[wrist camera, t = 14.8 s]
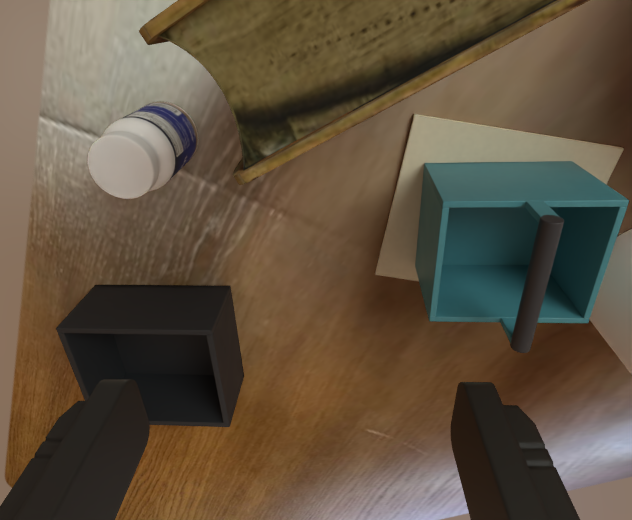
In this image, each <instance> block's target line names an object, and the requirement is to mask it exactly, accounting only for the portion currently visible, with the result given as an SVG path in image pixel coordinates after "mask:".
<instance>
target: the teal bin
mask: <svg viewBox="0 0 632 520" xmlns="http://www.w3.org/2000/svg"><path fill="white" fill-rule="evenodd" d="M628 203H629V200H628V199H626V198H625V197H624V196H622V195H621V194H619V193H618V192H616V191H615V190H613V189H612V188H610V187H609V186H608V185H606V184H605V183H603V182H602V181H600V180H599V179H597V178H596V177H595V176H593V175H592V174H590V173H589V172H587V171H586V170H584V169H583V168H581V167H580V166H579V165H577V164H576V163H574V162H573V161H541V162H463V163H424V172H423V183H422V194H421V205H420V216H419V228H418V239H417V250H416V261H415V268H416V272H417V276H418V279H419V283H420V287H421V291H422V295H423V299H424V303H425V307H426V310H427V314H428V318H429V321H440V322H501V325H502V327H503V329H504V331H505V333H506V335H507V337H508V339H509V341H510V346H511V348H512V349H513V350H515V351H517V352H520V353H527V352H529V351H530V348H531V345H532V341H533V337H534V333H535V330H536V326H537V323H588V322H589V318H590V316H591V313H592V310H593V307H594V304H595V301H596V298H597V295H598V292H599V289H600V286H601V283H602V280H603V277H604V274H605V271H606V268H607V265H608V262H609V259H610V256H611V253H612V250H613V247H614V244H615V241H616V238H617V235H618V233H619V230H620V227H621V224H622V221H623V218H624V215H625V212H626V209H627V206H628Z"/></svg>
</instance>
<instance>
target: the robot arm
mask: <svg viewBox="0 0 632 520" xmlns="http://www.w3.org/2000/svg"><path fill="white" fill-rule="evenodd" d="M148 437H149V419H148V416H147V413H146V410H145V407H144V404H143V401H142V397H141V394H140V391H139V388H138V385H137V383H136V381H135V380H133V379H103V380H101V381H100V382H99V383H98V384H97V385H96V387H95V388H94V390H93V392H92V393H91V395H90V396H89V398H88V400H87V401H78V402H77V403H75V404H74V405H73V406H72V407H71V408H70V409H69V410H67V411H66V412H65V413H64V414H63V415H62V416H60V417H59V418H58V420H57V421H56V423H55V425H54V426H53V428H52V429H51V431H50V432H49V434H48V435H47V437H46V441H45V442H43V443H42V444H41V446H40V447H39V449H38V450H37V452H36V453H35V457H34V458H32V459H31V461H30V462H29V464H28V465H27V467H26V468H25V470H24V471H23V473H22V474H21V476H20V477H19V479H18V480H17V482H16V483H15V485H14V486H13V488H12V489H11V491H10V492H9V494H8V495H7V497H6V498H5V500H4V501H3V503H2V505H1V506H0V520H115V518H116V516H117V513H118V511H119V508H120V506H121V504H122V501H123V499H124V497H125V494H126V492H127V490H128V487H129V485H130V483H131V480H132V478H133V476H134V473H135V471H136V468H137V466H138V464H139V461H140V459H141V457H142V454H143V452H144V450H145V447H146V445H147V441H148ZM451 442H452V449H453V453H454V457H455V461H456V464H457V468H458V472H459V476H460V480H461V484H462V487H463V491H464V495H465V499H466V503H467V507H468V510H469V514H470V518H471V520H580V519H579V516H578V514H577V512H576V510H575V508H574V506H573V504H572V502H571V499H570V497H569V495H568V493H567V491H566V489H565V487H564V485H563V482H562V480H561V478H560V476H559V474H558V472H557V470H556V468H555V467H554V466H553V461H552V459H551V457H550V455H549V453H548V451H547V449H545V444H544V442H543V440H542V438H541V436H540V434H539V432H538V429H537V427H536V425H535V423H534V422H533V421H532V420H531V419H530V418H529V417H528V416H527V415H526V414H525V413H524V412H523V411H522V410H521V409H520V408H519V407H518V406H517V405H503V404H502V402H501V399H500V397H499V395H498V392H497V390H496V388H495V386H494V384H493V383H491V382H460V383H459V384H458V388H457V393H456V399H455V405H454V410H453V416H452V421H451Z"/></svg>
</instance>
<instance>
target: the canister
mask: <svg viewBox="0 0 632 520" xmlns="http://www.w3.org/2000/svg"><path fill="white" fill-rule="evenodd" d="M589 320H590V321H591V322H592V324H593V325H594V326H595V328H596V329H597V330H598V332H599V333H600V334H601V335H602V337H603V338H604V339H605V341H606V342H607V343H608V345H609V346H610V347H611V349H612V350H613V351H614V352H615V354H616V355H617V356H618V358H619V359H620V360H621V362H622V363H623V364H624V365H625V367H626V368H627V369H628V371H629V372H630V373H631V375H632V229H630V230H628V231H626V232H624V233H623V234H621V235H619V236H618V237H617V238H616V241H615V244H614V247H613V250H612V253H611V256H610V259H609V262H608V265H607V268H606V271H605V274H604V277H603V280H602V283H601V286H600V289H599V292H598V295H597V298H596V301H595V304H594V307H593V310H592V313H591V316H590V318H589Z"/></svg>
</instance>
